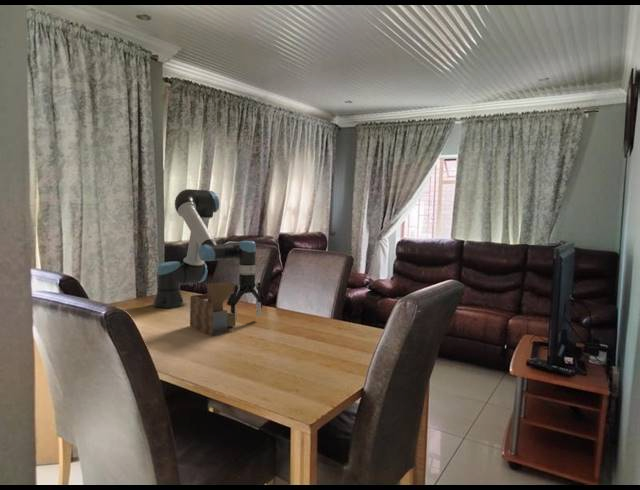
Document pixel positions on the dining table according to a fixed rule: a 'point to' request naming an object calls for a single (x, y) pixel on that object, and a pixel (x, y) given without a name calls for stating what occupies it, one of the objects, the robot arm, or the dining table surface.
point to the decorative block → (221, 298)
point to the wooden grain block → (201, 314)
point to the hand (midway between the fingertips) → (246, 317)
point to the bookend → (220, 323)
